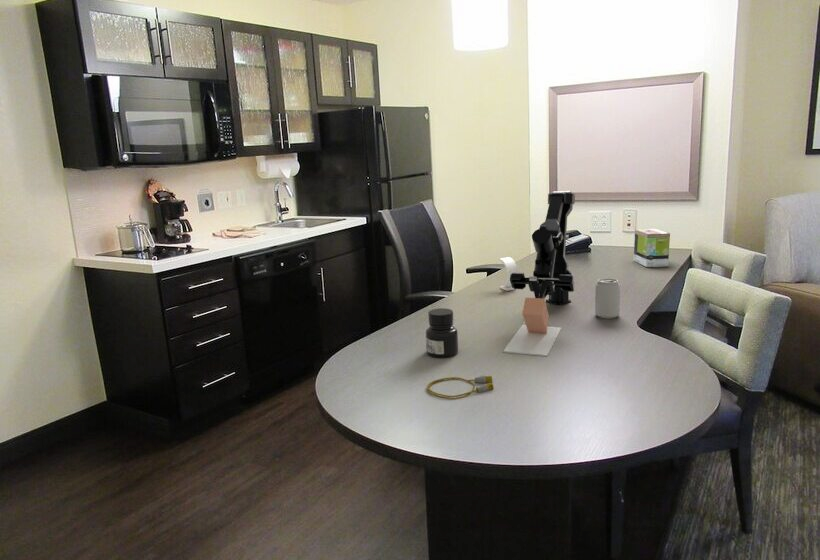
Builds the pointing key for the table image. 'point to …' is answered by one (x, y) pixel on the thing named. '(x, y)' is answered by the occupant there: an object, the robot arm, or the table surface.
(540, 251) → the robot arm
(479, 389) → the extension cord
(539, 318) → the block
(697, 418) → the table surface
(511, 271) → the headphone stand
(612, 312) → the can
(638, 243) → the tea box
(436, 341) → the ink bottle
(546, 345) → the mat
